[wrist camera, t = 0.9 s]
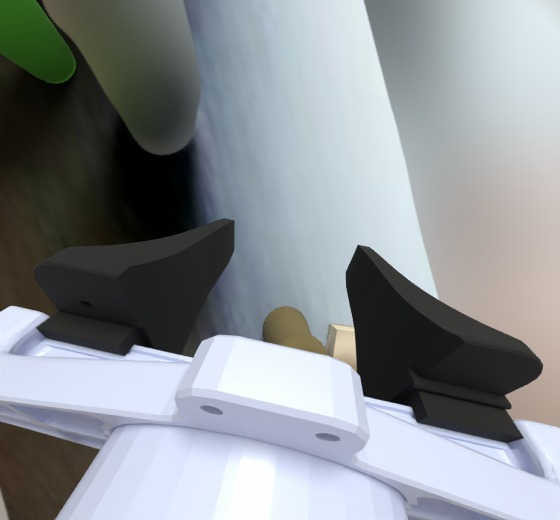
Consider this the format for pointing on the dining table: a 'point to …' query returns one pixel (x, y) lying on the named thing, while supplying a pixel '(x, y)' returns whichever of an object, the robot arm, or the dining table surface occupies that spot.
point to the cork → (291, 331)
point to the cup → (34, 41)
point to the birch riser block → (342, 344)
